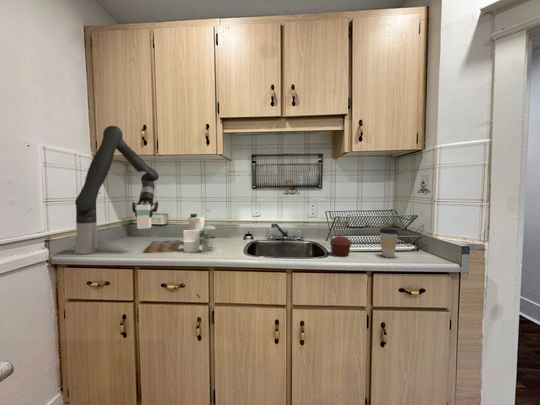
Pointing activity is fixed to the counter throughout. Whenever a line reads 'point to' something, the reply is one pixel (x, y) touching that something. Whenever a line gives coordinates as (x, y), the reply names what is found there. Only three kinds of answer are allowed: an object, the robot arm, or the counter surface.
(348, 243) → the muffin
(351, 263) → the counter surface
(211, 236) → the french press
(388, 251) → the coffee cup
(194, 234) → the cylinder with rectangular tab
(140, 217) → the cream carton
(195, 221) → the milk carton
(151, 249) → the brown shallow square tray
